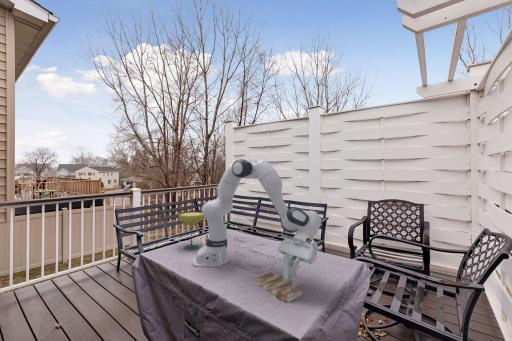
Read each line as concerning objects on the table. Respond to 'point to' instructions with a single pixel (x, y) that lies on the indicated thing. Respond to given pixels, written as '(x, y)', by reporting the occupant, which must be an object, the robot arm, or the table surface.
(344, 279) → the table surface
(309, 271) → the table surface
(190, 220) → the cocktail glass
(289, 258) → the block
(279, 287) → the rack
